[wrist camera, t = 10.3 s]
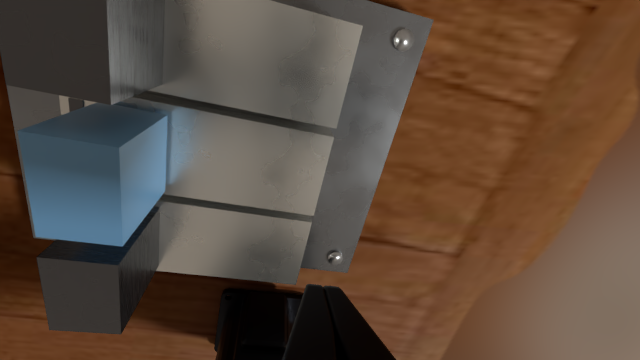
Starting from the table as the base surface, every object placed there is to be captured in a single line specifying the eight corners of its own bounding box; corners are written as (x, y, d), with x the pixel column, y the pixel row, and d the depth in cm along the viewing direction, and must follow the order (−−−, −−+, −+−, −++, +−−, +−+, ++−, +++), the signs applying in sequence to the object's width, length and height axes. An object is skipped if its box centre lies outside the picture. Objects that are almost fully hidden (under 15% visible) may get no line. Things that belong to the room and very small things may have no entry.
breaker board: (343, 258, 23) (373, 372, 15) (51, 223, 19) (-107, 350, 11) (421, 21, 16) (543, 8, 9) (4, -100, 13) (-429, -310, 5)
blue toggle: (165, 190, 14) (122, 246, 10) (103, 181, 13) (35, 236, 10) (167, 114, 12) (119, 147, 9) (98, 101, 12) (17, 130, 8)
